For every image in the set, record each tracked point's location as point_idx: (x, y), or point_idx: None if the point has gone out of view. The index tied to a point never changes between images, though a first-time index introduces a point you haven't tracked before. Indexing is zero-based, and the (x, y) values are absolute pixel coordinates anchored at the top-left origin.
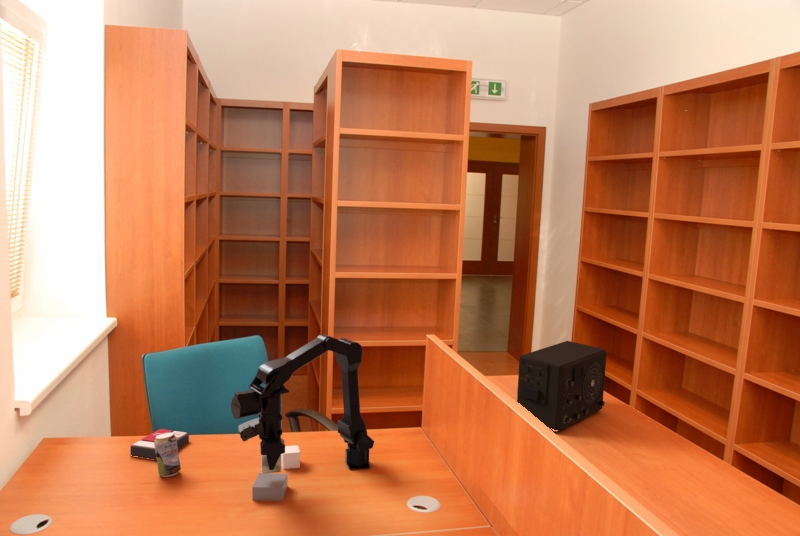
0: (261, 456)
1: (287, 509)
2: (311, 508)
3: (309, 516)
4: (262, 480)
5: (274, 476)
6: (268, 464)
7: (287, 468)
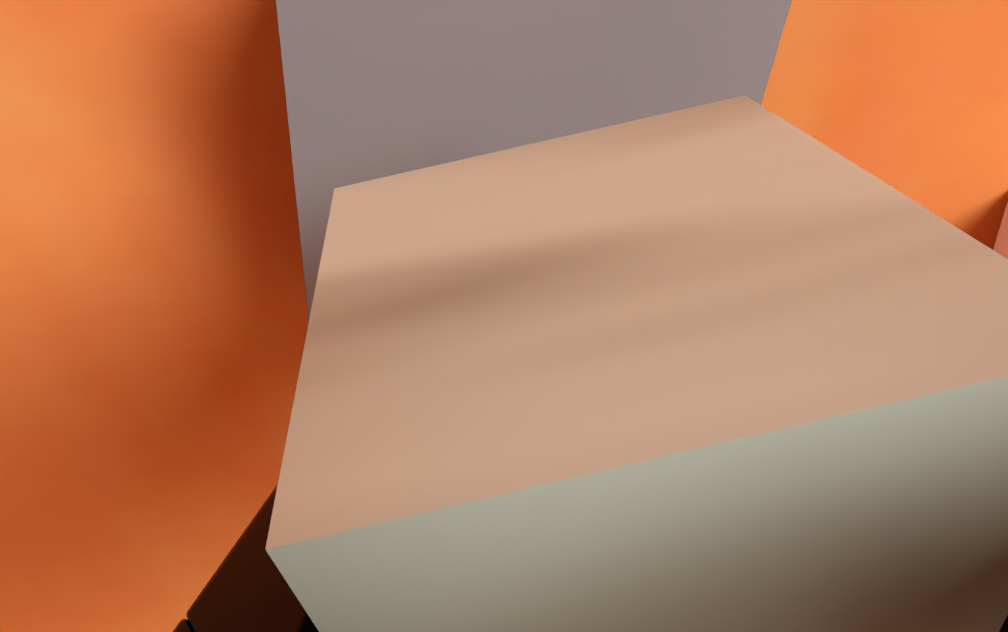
0: (619, 334)
1: (165, 358)
2: (233, 513)
3: (98, 521)
4: (528, 84)
5: None
6: (275, 490)
7: (1002, 232)
